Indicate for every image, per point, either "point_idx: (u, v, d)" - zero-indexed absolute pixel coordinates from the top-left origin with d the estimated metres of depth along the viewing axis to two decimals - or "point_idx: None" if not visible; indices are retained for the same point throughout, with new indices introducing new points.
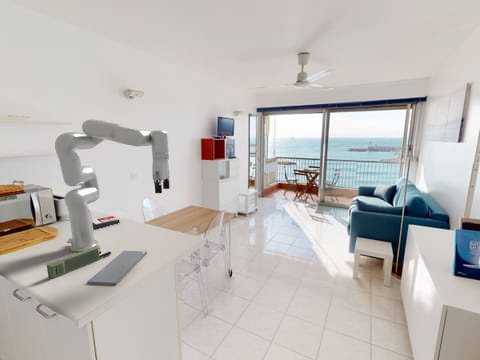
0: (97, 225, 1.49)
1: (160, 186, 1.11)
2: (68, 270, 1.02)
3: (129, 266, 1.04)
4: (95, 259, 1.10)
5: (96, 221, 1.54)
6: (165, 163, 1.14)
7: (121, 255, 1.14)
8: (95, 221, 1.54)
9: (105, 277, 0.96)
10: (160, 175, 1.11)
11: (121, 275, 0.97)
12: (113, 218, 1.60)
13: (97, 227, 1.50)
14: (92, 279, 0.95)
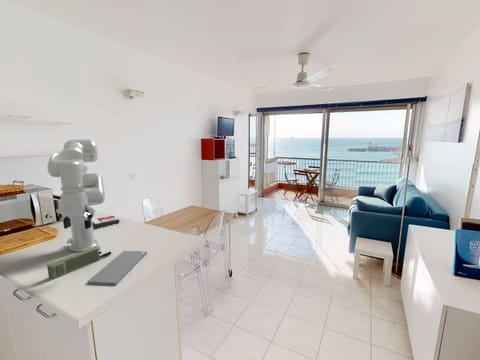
0: (97, 225, 1.50)
1: None
2: (69, 270, 1.01)
3: (129, 266, 1.04)
4: (95, 259, 1.10)
5: (96, 221, 1.54)
6: None
7: (121, 255, 1.14)
8: (95, 221, 1.54)
9: (105, 277, 0.96)
10: None
11: (121, 275, 0.97)
12: (113, 218, 1.61)
13: (97, 227, 1.50)
14: (92, 279, 0.95)
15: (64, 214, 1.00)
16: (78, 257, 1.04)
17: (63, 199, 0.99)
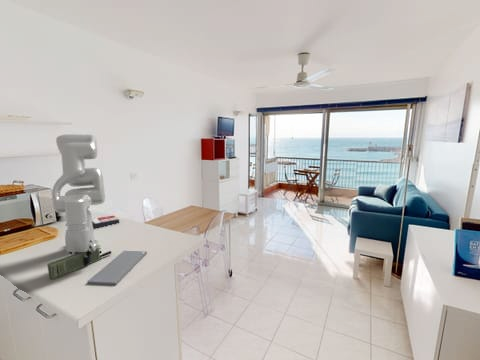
0: (96, 224, 1.51)
1: None
2: (69, 270, 1.01)
3: (129, 266, 1.04)
4: (96, 258, 1.10)
5: (96, 220, 1.55)
6: None
7: (121, 255, 1.14)
8: (95, 220, 1.55)
9: (105, 277, 0.96)
10: None
11: (121, 275, 0.97)
12: (113, 218, 1.61)
13: (96, 226, 1.51)
14: (92, 279, 0.95)
15: (69, 250, 1.03)
16: (78, 256, 1.04)
17: (68, 235, 1.02)
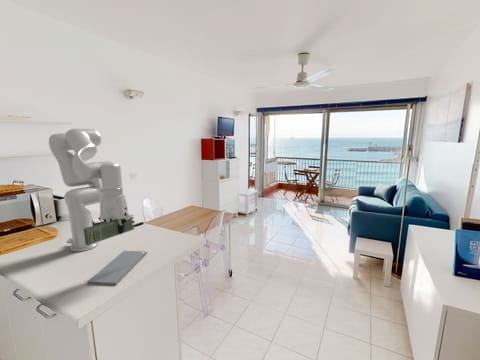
0: (96, 224, 1.52)
1: None
2: (104, 237, 0.97)
3: (129, 266, 1.04)
4: (129, 227, 1.06)
5: (96, 220, 1.56)
6: None
7: (121, 255, 1.14)
8: (95, 220, 1.56)
9: (105, 277, 0.96)
10: None
11: (121, 275, 0.97)
12: None
13: None
14: (92, 279, 0.95)
15: (104, 216, 0.99)
16: (113, 224, 1.00)
17: (103, 201, 0.98)
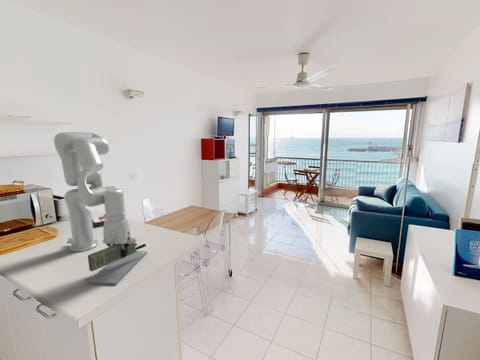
0: (96, 224, 1.52)
1: None
2: (108, 262, 0.99)
3: (129, 266, 1.04)
4: (132, 251, 1.08)
5: (96, 219, 1.57)
6: None
7: None
8: (95, 219, 1.57)
9: (105, 277, 0.96)
10: None
11: (121, 275, 0.97)
12: None
13: (96, 226, 1.52)
14: (92, 279, 0.95)
15: (107, 241, 1.01)
16: (116, 248, 1.02)
17: (106, 227, 1.00)
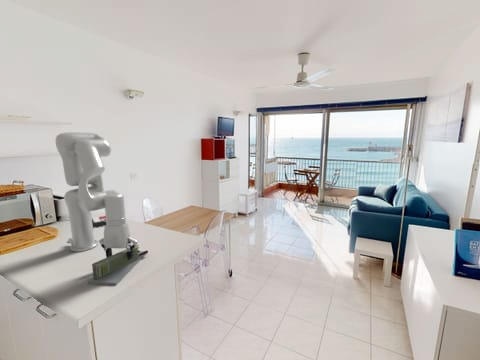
0: (95, 223, 1.53)
1: None
2: (112, 270, 0.99)
3: (129, 266, 1.04)
4: (135, 258, 1.09)
5: (96, 219, 1.57)
6: None
7: None
8: (96, 219, 1.57)
9: (105, 277, 0.96)
10: None
11: (121, 275, 0.97)
12: None
13: (95, 225, 1.53)
14: (92, 279, 0.95)
15: (108, 246, 1.01)
16: (120, 256, 1.02)
17: (107, 231, 1.00)
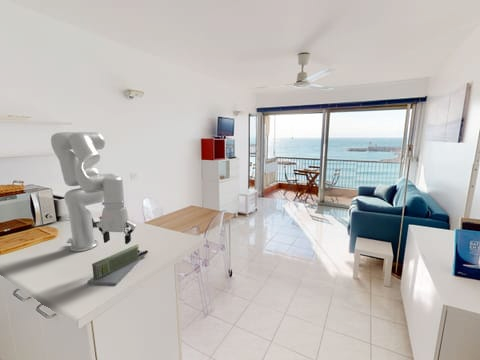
0: (95, 223, 1.53)
1: None
2: (112, 270, 0.99)
3: (129, 266, 1.04)
4: (135, 258, 1.09)
5: (97, 219, 1.58)
6: None
7: None
8: (96, 219, 1.58)
9: (105, 277, 0.96)
10: None
11: (121, 275, 0.97)
12: None
13: (95, 225, 1.53)
14: (92, 279, 0.95)
15: (105, 229, 1.00)
16: (120, 256, 1.02)
17: (105, 214, 0.99)
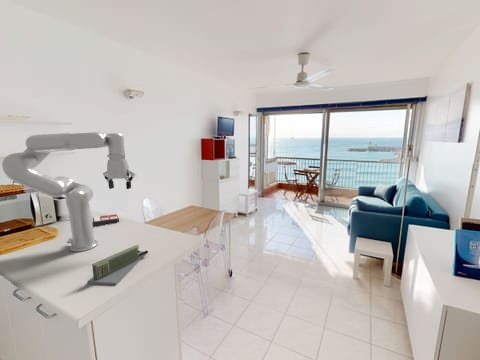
0: (95, 222, 1.54)
1: None
2: (112, 270, 0.99)
3: (129, 266, 1.04)
4: (135, 258, 1.08)
5: (97, 218, 1.59)
6: None
7: None
8: (96, 218, 1.59)
9: (105, 277, 0.96)
10: None
11: (121, 275, 0.97)
12: (114, 217, 1.63)
13: (95, 224, 1.54)
14: (92, 279, 0.95)
15: (110, 176, 1.23)
16: (120, 256, 1.02)
17: (110, 164, 1.22)
